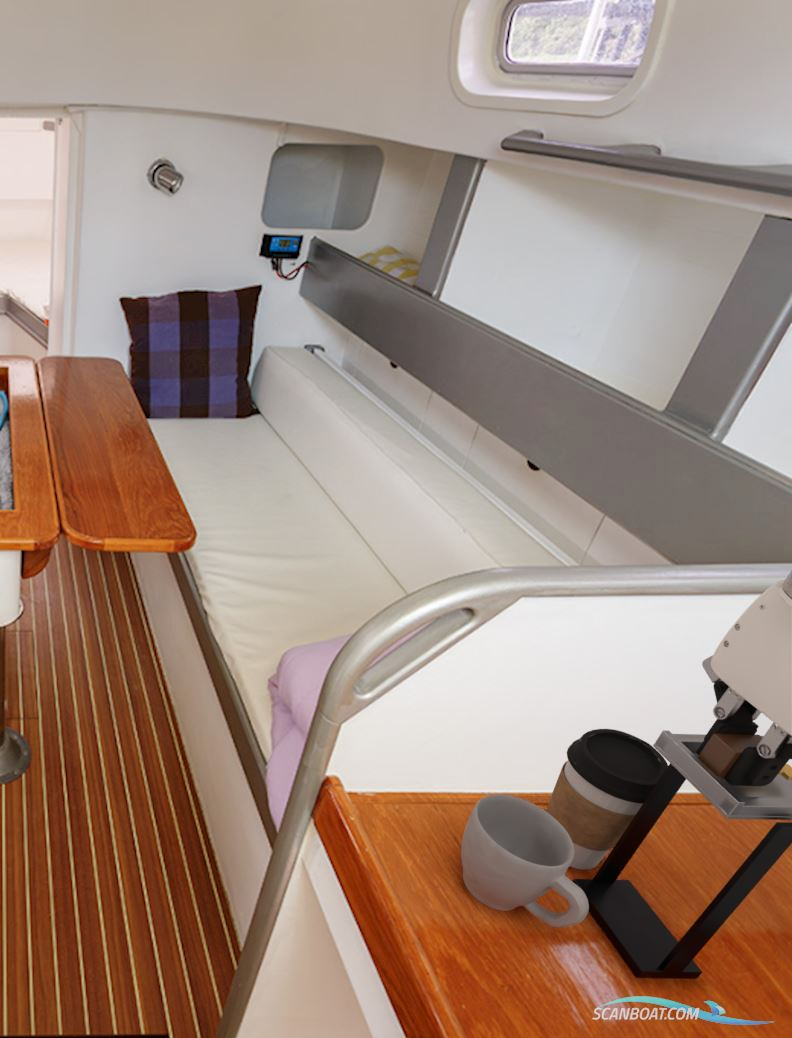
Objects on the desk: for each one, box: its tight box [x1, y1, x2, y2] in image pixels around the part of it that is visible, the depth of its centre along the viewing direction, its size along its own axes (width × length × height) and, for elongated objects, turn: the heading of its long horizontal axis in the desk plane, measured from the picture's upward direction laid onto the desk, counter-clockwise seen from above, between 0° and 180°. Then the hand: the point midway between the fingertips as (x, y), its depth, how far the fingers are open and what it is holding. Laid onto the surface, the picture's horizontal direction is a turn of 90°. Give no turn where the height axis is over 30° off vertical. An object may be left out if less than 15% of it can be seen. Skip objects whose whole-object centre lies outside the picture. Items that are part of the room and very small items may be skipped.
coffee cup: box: [545, 728, 669, 871], centre depth 80 cm, size 8×8×15 cm
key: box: [697, 734, 792, 780], centre depth 63 cm, size 8×2×3 cm, turn 90°
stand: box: [571, 762, 792, 980], centre depth 69 cm, size 6×10×22 cm, turn 0°
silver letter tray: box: [652, 729, 792, 821], centre depth 64 cm, size 10×8×2 cm
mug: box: [460, 793, 589, 928], centre depth 75 cm, size 12×9×10 cm
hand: (729, 768), depth 63 cm, fingers closed on key, 2 cm apart
